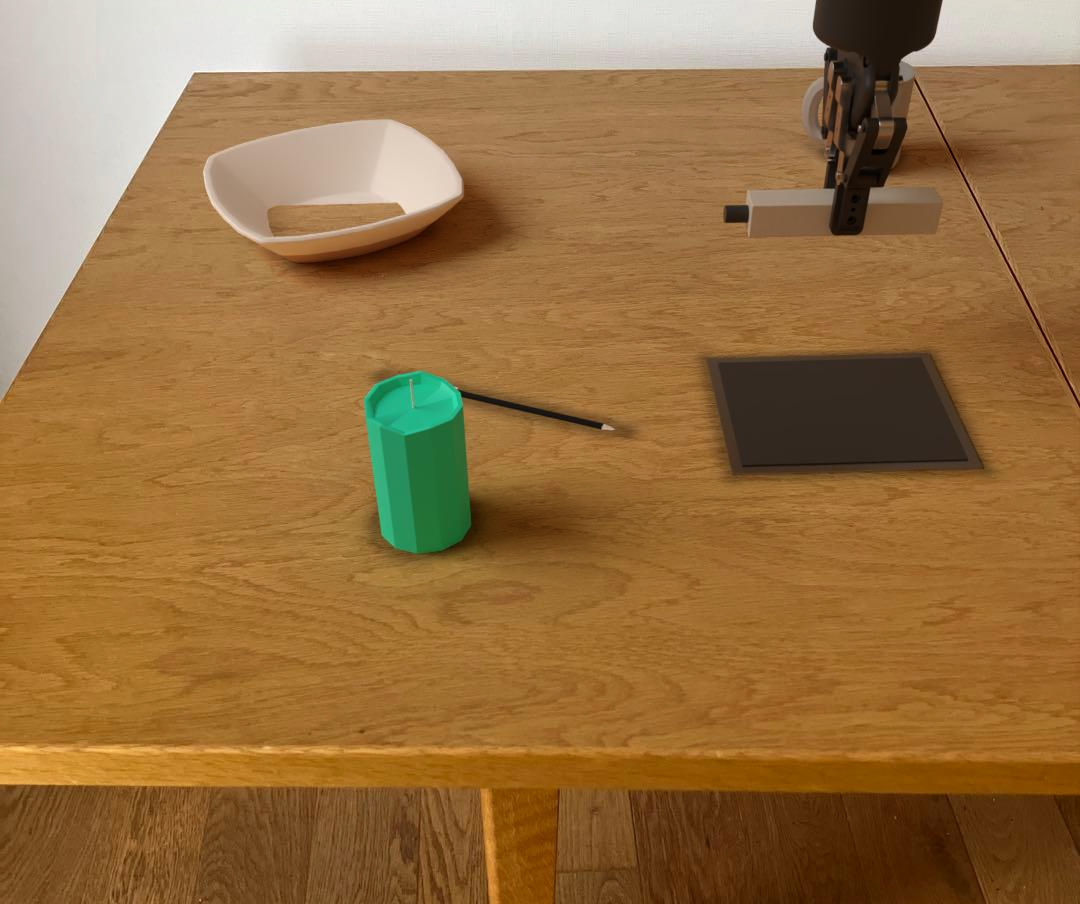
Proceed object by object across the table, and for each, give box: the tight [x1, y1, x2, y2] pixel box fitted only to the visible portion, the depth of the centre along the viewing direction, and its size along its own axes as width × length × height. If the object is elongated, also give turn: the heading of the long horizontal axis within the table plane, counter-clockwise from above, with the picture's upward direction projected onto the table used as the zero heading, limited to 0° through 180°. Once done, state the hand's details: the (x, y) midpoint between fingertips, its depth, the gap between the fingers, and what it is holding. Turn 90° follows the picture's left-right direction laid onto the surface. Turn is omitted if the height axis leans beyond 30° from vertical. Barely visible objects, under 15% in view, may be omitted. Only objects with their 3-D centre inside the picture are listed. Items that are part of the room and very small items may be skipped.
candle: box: [363, 370, 472, 555], centre depth 74 cm, size 6×6×12 cm
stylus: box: [722, 186, 944, 239], centre depth 83 cm, size 15×2×2 cm, turn 91°
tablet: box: [705, 352, 984, 476], centre depth 86 cm, size 17×14×1 cm
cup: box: [800, 60, 916, 170], centre depth 116 cm, size 7×10×9 cm
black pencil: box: [454, 386, 616, 431], centre depth 87 cm, size 1×19×1 cm, turn 68°
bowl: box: [202, 118, 465, 264], centre depth 108 cm, size 22×22×5 cm
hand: (840, 221), depth 83 cm, fingers closed on stylus, 2 cm apart
